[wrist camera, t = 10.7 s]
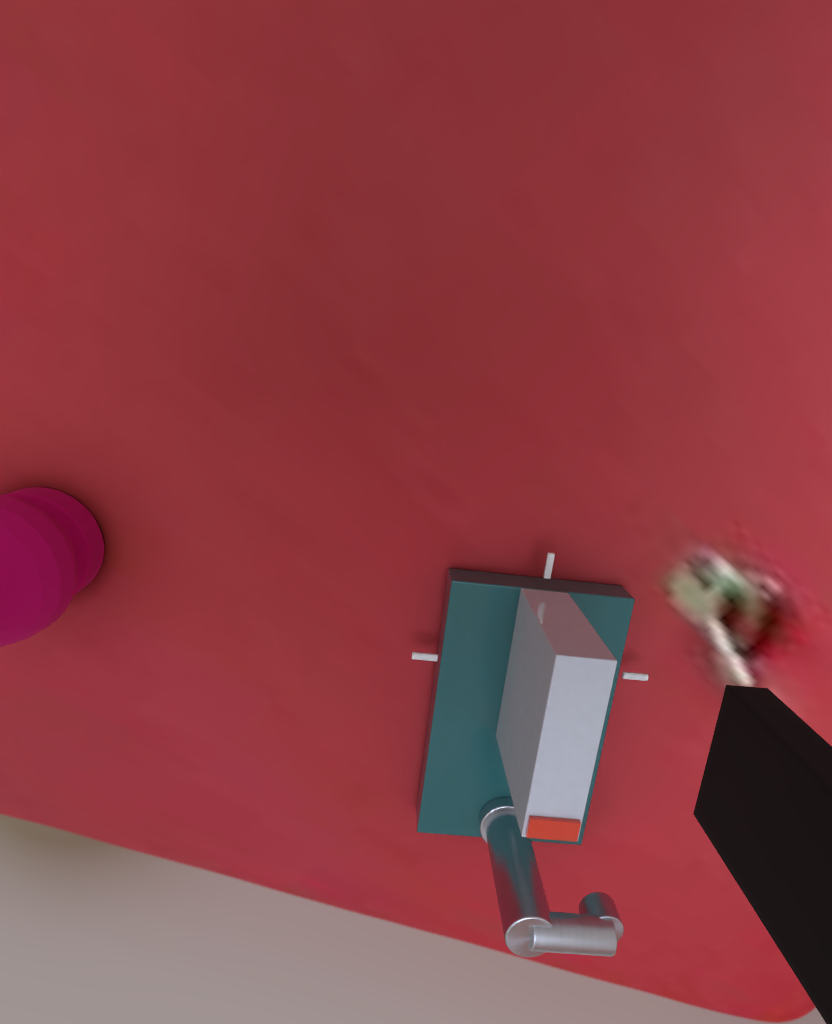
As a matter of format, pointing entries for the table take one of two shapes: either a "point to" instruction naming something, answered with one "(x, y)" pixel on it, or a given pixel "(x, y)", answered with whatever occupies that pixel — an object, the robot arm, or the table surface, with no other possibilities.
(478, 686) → the teal base plate
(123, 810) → the table surface
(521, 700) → the white block
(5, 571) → the pepper mill
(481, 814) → the spout
